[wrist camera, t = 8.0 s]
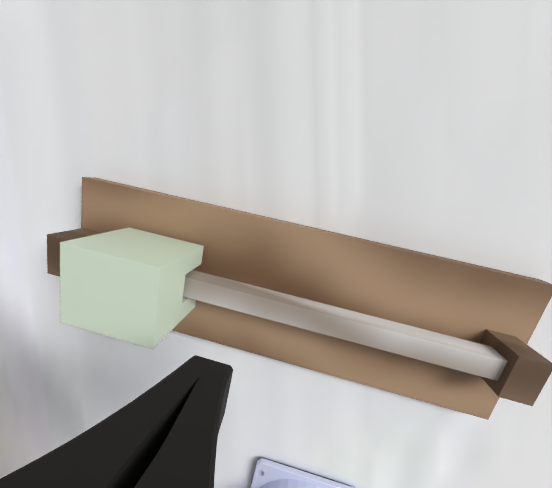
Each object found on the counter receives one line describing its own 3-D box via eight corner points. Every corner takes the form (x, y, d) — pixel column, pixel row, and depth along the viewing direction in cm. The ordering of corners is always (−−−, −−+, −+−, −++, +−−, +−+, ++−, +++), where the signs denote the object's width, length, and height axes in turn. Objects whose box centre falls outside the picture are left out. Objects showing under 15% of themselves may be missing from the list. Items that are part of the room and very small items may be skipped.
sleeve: (195, 306, 16) (152, 349, 12) (125, 287, 17) (60, 322, 13) (203, 245, 15) (160, 268, 11) (129, 227, 16) (60, 242, 12)
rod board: (477, 406, 16) (524, 468, 13) (91, 298, 19) (38, 324, 15) (540, 279, 14) (618, 311, 11) (95, 177, 17) (34, 174, 13)
